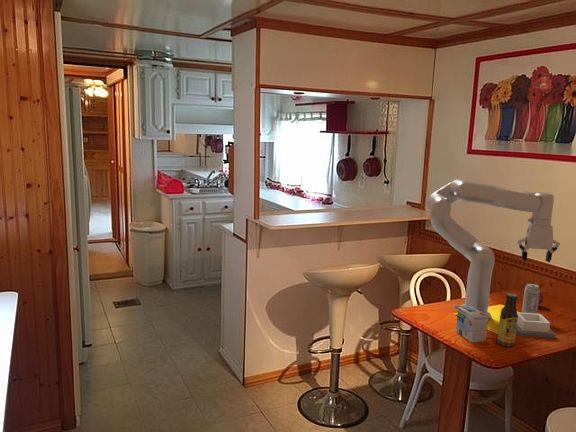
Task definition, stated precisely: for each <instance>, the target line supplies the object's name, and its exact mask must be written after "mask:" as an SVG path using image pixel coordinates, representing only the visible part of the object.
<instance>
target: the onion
mask: <svg viewBox="0 0 576 432" xmlns="http://www.w3.org/2000/svg"><path fill="white" fill-rule="evenodd" d="M542 303H544V295H543V293H542V292H540V295H539V303H538V306H539V305H541V304H542Z"/></svg>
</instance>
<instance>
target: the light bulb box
mask: <svg viewBox="0 0 576 432" xmlns="http://www.w3.org/2000/svg"><path fill="white" fill-rule="evenodd" d="M488 321H489V319H488V315H487V314H485V313H483V312H481V311H480V310H478V309H476V308H474V307H473V306H467V307H458V309H457V315H456V326H455V332H456V333H457V334H458V335H460V336H461V337H463V338H464V339H466V340H467V341H469V343H480V342H481V343H482V342H486V336H487V329H488V328H487V327H488Z"/></svg>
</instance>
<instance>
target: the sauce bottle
mask: <svg viewBox="0 0 576 432" xmlns="http://www.w3.org/2000/svg"><path fill="white" fill-rule="evenodd" d="M518 298H519V297H518V294H516V293H511V292H509V293H506V295H505V303H504V306H503V307H502V308H501V310H500V316H499V320H498V328H497V336H496V338H497V339H496V340H497V341H496V342H497V344H498V345H500V346H503V347H513V346H514V344H515V341H516V335H517V333H516V328H517V321H518V315H517V312H518V311H517V301H518Z"/></svg>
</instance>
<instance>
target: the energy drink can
mask: <svg viewBox="0 0 576 432" xmlns="http://www.w3.org/2000/svg"><path fill="white" fill-rule="evenodd" d="M540 293H541V289H540V286H539V285H538V284H535V283H527V284H526V286H525V287H524V293H523V301H522V306H521V307H522V308H521V313H535V314H538V309H539V305H538V303H539V295H540Z"/></svg>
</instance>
